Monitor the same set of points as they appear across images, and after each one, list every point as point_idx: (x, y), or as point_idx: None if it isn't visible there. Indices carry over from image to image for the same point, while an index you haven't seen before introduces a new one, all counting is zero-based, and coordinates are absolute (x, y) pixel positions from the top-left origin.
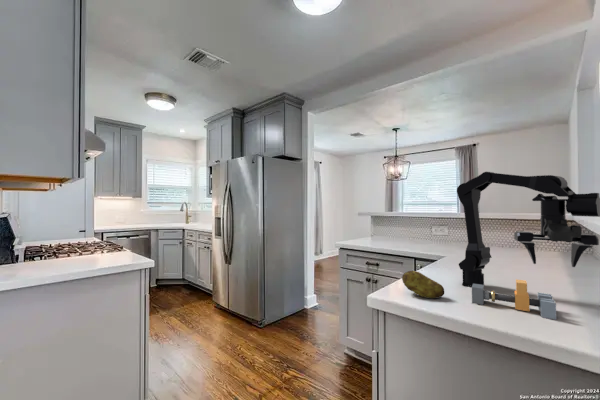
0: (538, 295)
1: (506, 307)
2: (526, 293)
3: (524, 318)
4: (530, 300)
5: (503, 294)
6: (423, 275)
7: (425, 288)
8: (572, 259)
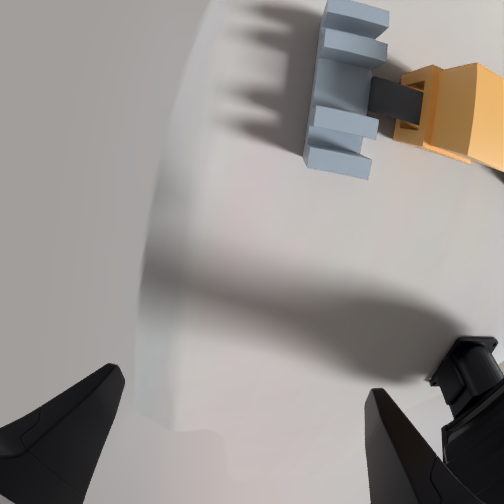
0: (375, 132)
1: None
2: (447, 70)
3: (422, 10)
4: (412, 89)
5: None
6: None
7: None
8: (98, 419)
